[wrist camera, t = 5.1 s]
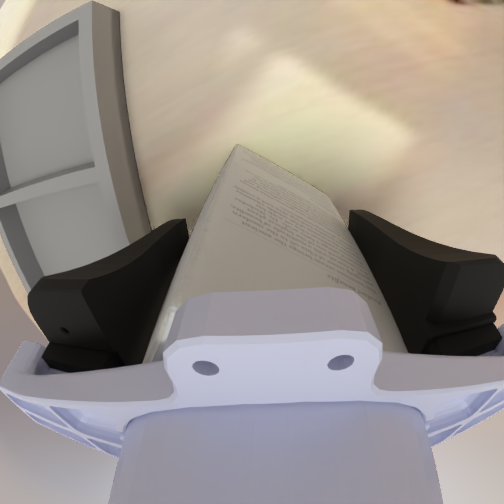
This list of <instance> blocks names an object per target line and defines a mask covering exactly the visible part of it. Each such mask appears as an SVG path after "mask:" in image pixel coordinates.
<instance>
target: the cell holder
mask: <svg viewBox="0 0 504 504" xmlns="http://www.w3.org/2000/svg"><path fill="white" fill-rule="evenodd" d="M150 232H151V227H150V223H149V219H148V215H147V211H146V207H145V203H144V198H143V194H142V189H141V185H140V180H139V175H138V170H137V165H136V160H135V155H134V149H133V144H132V138H131V132H130V126H129V119H128V112H127V105H126V97H125V89H124V80H123V70H122V58H121V43H120V20H119V12H118V11H116V10H114V9H111V8H109V7H107V6H104V5H102V4H99V3H97V2H94V1H90V2H88V3H86V4H84V5H82V6H80V7H78V8H76V9H74V10H73V11H71V12H69V13H67V14H65V15H63V16H62V17H60V18H58V19H57V20H55V21H53V22H51V23H50V24H48V25H47V26H45V27H43V28H42V29H40V30H39V31H37V32H36V33H34V34H33V35H31V36H30V37H29V38H27V39H26V40H24V41H23V42H22V43H20V44H19V45H17V46H16V47H15V48H14V49H12V50H11V51H10V52H8V53H7V54H6V55H5V56H3V57H2V58H1V59H0V235H1V237H2V240H3V242H4V245H5V247H6V250H7V252H8V254H9V256H10V259H11V261H12V263H13V265H14V267H15V269H16V271H17V273H18V275H19V277H20V279H21V281H22V283H23V285H24V287H25V289H26V291H27V293H28V294H29V292H30V291H31V289H32V288H33V287H34V286H35V284H36V283H37V282H38V281H39V280H40V279H41V278H42V277H43V276H48V275H52V274H57V273H61V272H65V271H69V270H72V269H75V268H79V267H82V266H85V265H88V264H90V263H93V262H95V261H97V260H100V259H102V258H105V257H107V256H109V255H111V254H113V253H115V252H117V251H119V250H121V249H123V248H125V247H127V246H129V245H130V244H132V243H134V242H135V241H137V240H138V239H140V238H142V237H143V236H145V235H147V234H148V233H150Z"/></svg>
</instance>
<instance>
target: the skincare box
mask: <svg viewBox="0 0 504 504" xmlns="http://www.w3.org/2000/svg"><path fill="white" fill-rule="evenodd" d="M319 287H333V288H340V289H346V290H353V291H354V292H355V293H356V294H357V295H359V296H360V297H361V298H362V299H363V300H364V301H365V302H366V303H367V304H368V307H369V309H370V312H371V314H372V317H373V319H374V322H375V325H376V327H377V330H378V332H379V335H380V338H381V341H382V351H388V352H399V353H408V351H407V348H406V346H405V344H404V342H403V339H402V336H401V334H400V331H399V329H398V327H397V325H396V322H395V320H394V318H393V316H392V313H391V311H390V309H389V307H388V305H387V303H386V301H385V298H384V296H383V294H382V292H381V290H380V288H379V286H378V284H377V282H376V280H375V278H374V276H373V274H372V272H371V270H370V268H369V266H368V264H367V263H366V260H365V258H364V257H363V255H362V253H361V251H360V249H359V248H358V246H357V244H356V242H355V240H354V239H353V237H352V235H351V233H350V231H349V230H348V228H347V226H346V224H345V223H344V221H343V219H342V217H341V216H340V214H339V212H338V211H337V209H336V207H335V206H334V204H333V202H332V201H331V199H330V198H329V196H328V195H326V194H324V193H323V192H321V191H320V190H318V189H316V188H315V187H313V186H311V185H310V184H308V183H306V182H305V181H303V180H301V179H300V178H298V177H296V176H295V175H293V174H291V173H290V172H288V171H286V170H284V169H282V168H281V167H279V166H277V165H275V164H274V163H272V162H270V161H268V160H266V159H264V158H263V157H261V156H259V155H257V154H255V153H253V152H251V151H249V150H247V149H245V148H244V147H242V146H240V145H236V146H235V147H234V149H233V151H232V153H231V154H230V156H229V158H228V160H227V161H226V163H225V165H224V167H223V169H222V170H221V172H220V174H219V176H218V178H217V180H216V182H215V184H214V186H213V188H212V190H211V192H210V194H209V196H208V198H207V200H206V202H205V204H204V206H203V208H202V210H201V213H200V215H199V217H198V219H197V221H196V224H195V226H194V228H193V231H192V233H191V235H190V238H189V240H188V243H187V245H186V248H185V250H184V252H183V255H182V257H181V260H180V262H179V264H178V267H177V269H176V272H175V274H174V277H173V279H172V282H171V285H170V287H169V290H168V292H167V295H166V298H165V300H164V303H163V305H162V308H161V311H160V314H159V316H158V319H157V322H156V325H155V327H154V330H153V333H152V336H151V339H150V342H149V345H148V348H147V351H146V354H145V357H144V360H143V363H149V362H155V361H161V360H163V350H164V347H165V344H166V340H167V337H168V334H169V331H170V328H171V325H172V322H173V319H174V316H175V313H176V311H177V310H178V309H179V308H180V307H181V306H182V305H183V304H184V303H185V301H186V300H187V299H188V298H191V297H195V296H199V295H203V294H207V293H212V292H238V291H264V290H285V289H303V288H319ZM143 363H142V364H143Z"/></svg>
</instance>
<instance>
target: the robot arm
mask: <svg viewBox="0 0 504 504" xmlns="http://www.w3.org/2000/svg"><path fill="white" fill-rule="evenodd" d="M348 230H349V231H350V233H351V235H352V237H353V239H354V240H355V242H356V244H357V246H358V248H359V249H360V251H361V253H362V255H363V257H364V258H365V260H366V263H367V264H368V266H369V268H370V270H371V272H372V274H373V276H374V278H375V280H376V282H377V284H378V286H379V288H380V290H381V292H382V294H383V296H384V298H385V301H386V303H387V305H388V307H389V309H390V311H391V313H392V316H393V318H394V320H395V322H396V325H397V327H398V329H399V331H400V334H401V336H402V339H403V342H404V344H405V346H406V348H407V351H408V353H399V352H388V351H382V341H381V338H380V335H379V332H378V330H377V327H376V325H375V322H374V319H373V317H372V314H371V312H370V309H369V307H368V304H367V303H366V302H365V301H364V300H363V299H362V298H361V297H360V296H359V295H357V294H356V293H355V292H354V291H353V290H346V289H340V288H333V287H319V288H303V289H285V290H264V291H238V292H212V293H207V294H203V295H199V296H195V297H191V298H188V299H187V300H186V301H185V303H184V304H183V305H182V306H181V307H180V308H179V309H178V310H177V311H176V313H175V316H174V319H173V322H172V325H171V328H170V331H169V334H168V337H167V340H166V344H165V347H164V350H163V360H161V361H155V362H149V363H143V360H144V357H145V354H146V351H147V348H148V345H149V342H150V339H151V336H152V333H153V330H154V327H155V325H156V322H157V319H158V316H159V314H160V311H161V308H162V305H163V303H164V300H165V298H166V295H167V292H168V290H169V287H170V285H171V282H172V279H173V277H174V274H175V272H176V269H177V267H178V264H179V262H180V260H181V257H182V255H183V252H184V250H185V248H186V245H187V243H188V240H189V234H188V229H187V224H186V219H174V220H170V221H168V222H166V223H164V224H163V225H161V226H159V227H158V228H156V229H154V230H153V231H151V232H150V233H148V234H147V235H145V236H143V237H142V238H140V239H138V240H137V241H135V242H134V243H132V244H130V245H129V246H127V247H125V248H123V249H121V250H119V251H117V252H115V253H113V254H111V255H109V256H107V257H105V258H102V259H100V260H97V261H95V262H93V263H90V264H88V265H85V266H82V267H79V268H75V269H72V270H69V271H65V272H61V273H57V274H52V275H48V276H43V277H42V278H41V279H40V280H39V281H38V282H37V283H36V284H35V286H34V287H33V288H32V289H31V291H30V292H29V294H28V306H29V309H30V312H31V314H32V316H33V318H34V320H35V321H36V323H37V324H38V326H39V327H40V329H41V330H42V332H43V333H44V335H45V336H46V338H47V339H48V341H49V342H50V343H49V345H48V346H47V348H45V347H44V346H43V345H41V344H38V343H34V342H30V341H26V340H25V341H23V342H22V344H21V345H20V347H19V348H18V350H17V352H16V353H15V355H14V357H13V358H12V360H11V362H10V363H9V365H8V367H7V369H6V371H5V373H4V374H3V376H2V378H1V380H0V390H1V391H2V392H3V393H4V394H5V395H6V396H7V397H8V398H9V399H10V400H11V401H12V402H13V403H14V404H15V405H17V406H18V407H19V408H20V409H21V410H22V411H23V412H25V414H27V415H28V416H29V417H30V418H31V419H33V420H34V421H35V422H37V423H39V424H41V425H43V426H45V427H47V428H49V429H51V430H53V431H55V432H57V433H59V434H62V435H64V436H66V437H68V438H70V439H73V440H74V441H77V442H79V443H82V444H84V445H86V446H88V447H91V448H93V449H96V450H98V451H101V452H103V453H106V454H109V455H111V456H114V457H117V458H119V460H118V464H117V468H116V472H115V476H114V480H113V485H112V489H111V494H110V499H109V504H443V501H442V495H441V489H440V484H439V479H438V475H437V470H436V465H435V461H434V458H433V453H432V449H431V447H433V446H435V445H437V444H440V443H442V442H444V441H446V440H448V439H450V438H452V437H454V436H456V435H458V434H460V433H462V432H463V431H466V430H468V429H470V428H471V427H473V426H475V425H477V424H478V423H480V422H482V421H484V420H486V419H487V418H489V417H491V416H493V415H494V414H496V413H498V412H499V411H501V410H503V409H504V324H503V325H501V326H500V327H499V328H498V329H497V328H496V326H495V325H494V323H493V322H495V321H496V316H495V314H494V313H493V309H494V307H495V305H496V304H497V301H498V299H499V297H500V295H501V293H502V291H503V288H504V263H503V262H502V261H501V260H500V259H499V258H498V257H497V256H496V255H492V254H485V253H478V252H471V251H466V250H461V249H457V248H453V247H449V246H446V245H442V244H439V243H436V242H433V241H430V240H427V239H425V238H422V237H420V236H417V235H415V234H413V233H410V232H408V231H406V230H404V229H402V228H400V227H398V226H396V225H394V224H392V223H390V222H388V221H386V220H384V219H382V218H380V217H379V216H377V215H375V214H372V213H370V212H368V211H365V210H350V214H349V225H348ZM142 363H143V364H142Z"/></svg>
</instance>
